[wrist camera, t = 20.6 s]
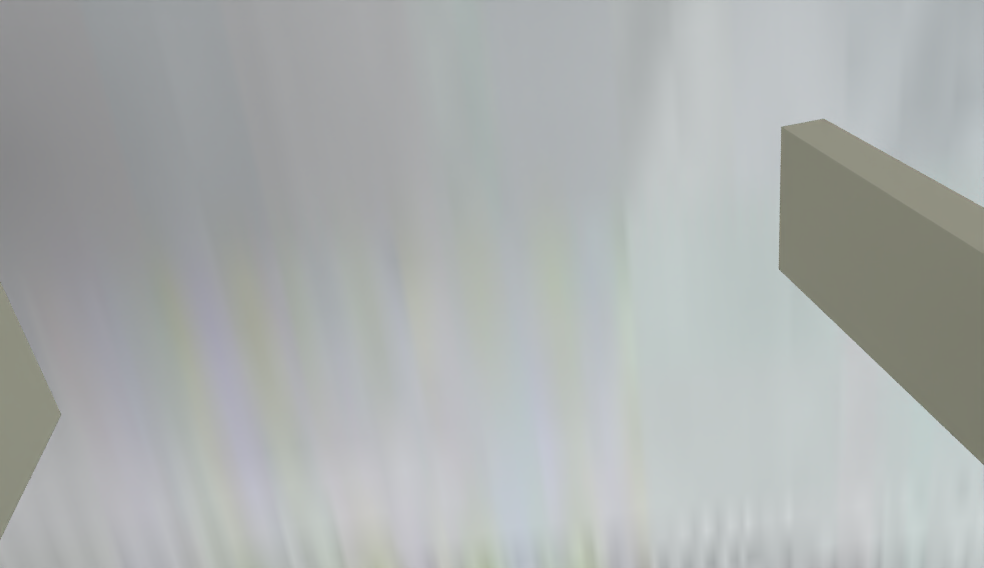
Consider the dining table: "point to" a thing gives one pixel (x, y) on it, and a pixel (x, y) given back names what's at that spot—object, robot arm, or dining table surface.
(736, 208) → the dining table surface
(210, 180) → the dining table surface
